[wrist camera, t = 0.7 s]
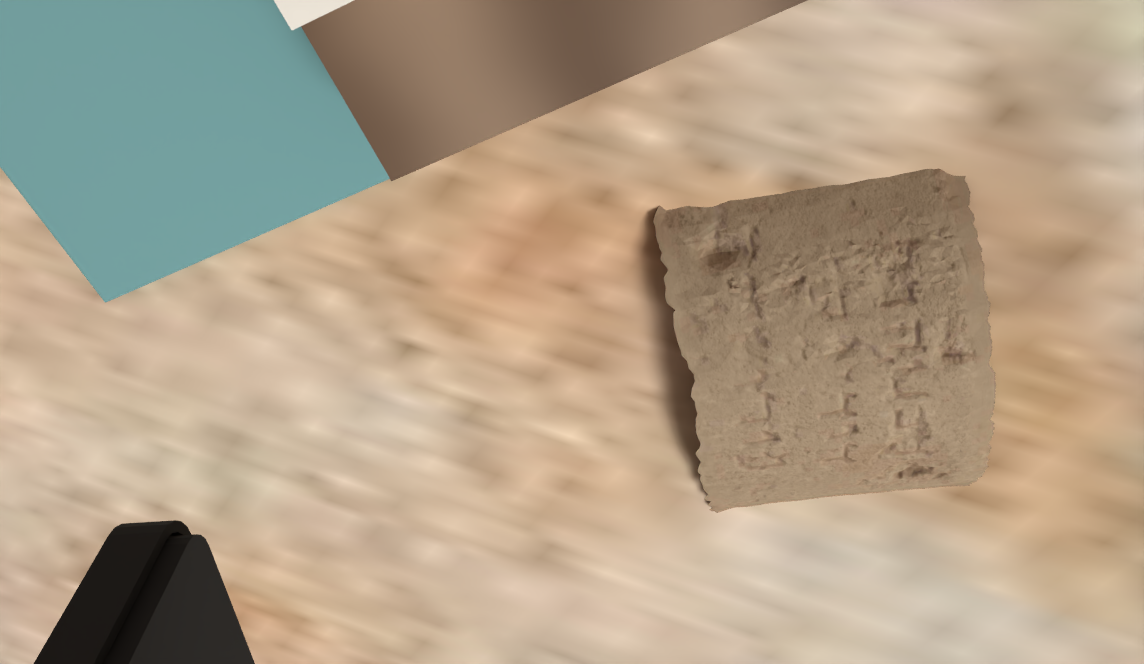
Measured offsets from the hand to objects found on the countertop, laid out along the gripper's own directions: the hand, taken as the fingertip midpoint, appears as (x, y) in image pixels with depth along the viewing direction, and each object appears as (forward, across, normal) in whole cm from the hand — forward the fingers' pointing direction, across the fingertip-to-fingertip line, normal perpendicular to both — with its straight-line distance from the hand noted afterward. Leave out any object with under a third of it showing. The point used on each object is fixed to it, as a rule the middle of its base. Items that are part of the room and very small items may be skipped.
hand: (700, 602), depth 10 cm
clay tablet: (+25, -5, +14) cm, 29 cm away
